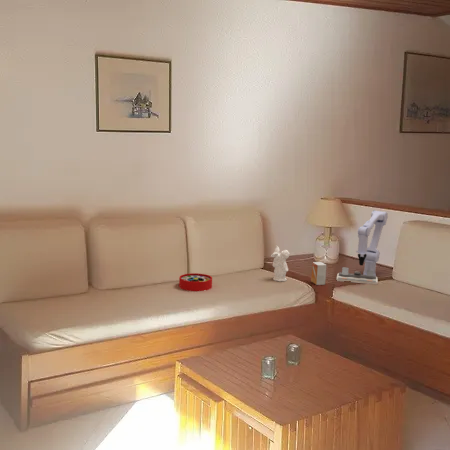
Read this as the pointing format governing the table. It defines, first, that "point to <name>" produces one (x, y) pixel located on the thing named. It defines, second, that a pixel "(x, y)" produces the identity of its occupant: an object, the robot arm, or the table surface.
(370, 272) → the switch
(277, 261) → the cherub figurine
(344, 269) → the switch
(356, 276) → the switch panel
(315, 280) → the small box
